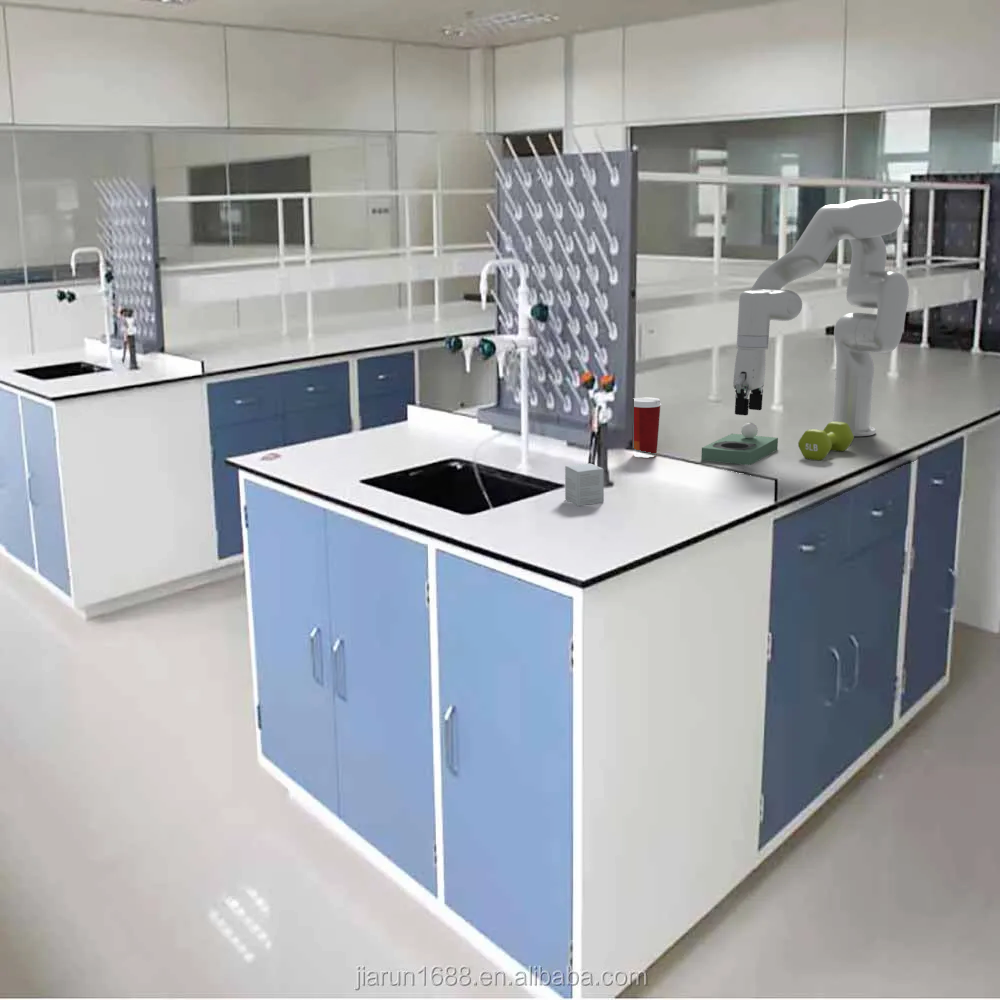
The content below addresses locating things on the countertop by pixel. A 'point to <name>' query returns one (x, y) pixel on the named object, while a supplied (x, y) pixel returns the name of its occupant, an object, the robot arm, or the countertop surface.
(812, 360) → the countertop surface
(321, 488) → the countertop surface
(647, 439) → the paper cup
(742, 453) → the putting mat
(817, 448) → the dumbbell
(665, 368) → the countertop surface
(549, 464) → the countertop surface
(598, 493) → the product box
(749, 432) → the ball
